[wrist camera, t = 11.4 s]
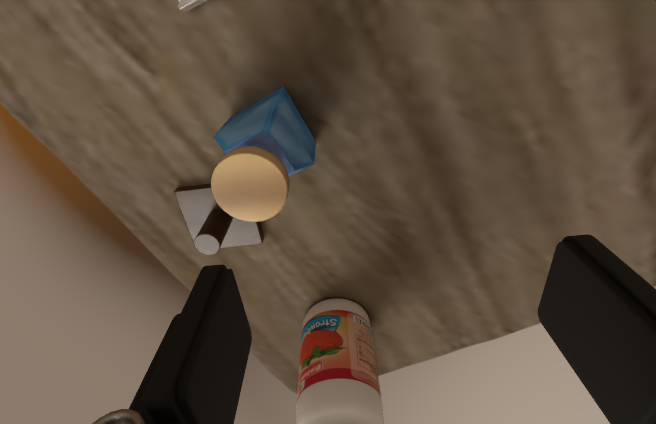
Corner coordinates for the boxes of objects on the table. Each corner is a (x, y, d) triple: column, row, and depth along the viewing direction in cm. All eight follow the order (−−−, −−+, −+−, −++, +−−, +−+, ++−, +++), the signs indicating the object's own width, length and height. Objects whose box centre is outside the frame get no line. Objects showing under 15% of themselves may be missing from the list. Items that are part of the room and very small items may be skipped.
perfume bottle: (284, 85, 33) (265, 120, 23) (315, 141, 36) (311, 194, 25) (230, 116, 34) (190, 162, 24) (265, 167, 37) (242, 228, 27)
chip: (206, 151, 24) (200, 158, 22) (281, 141, 23) (279, 148, 22) (227, 216, 26) (222, 226, 25) (295, 208, 26) (293, 217, 25)
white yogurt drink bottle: (348, 350, 52) (369, 646, 28) (291, 330, 50) (259, 633, 26) (382, 310, 48) (440, 617, 24) (322, 286, 46) (317, 598, 21)
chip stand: (176, 187, 38) (153, 215, 33) (247, 178, 38) (235, 205, 33) (199, 246, 42) (181, 279, 37) (263, 239, 42) (255, 271, 37)
